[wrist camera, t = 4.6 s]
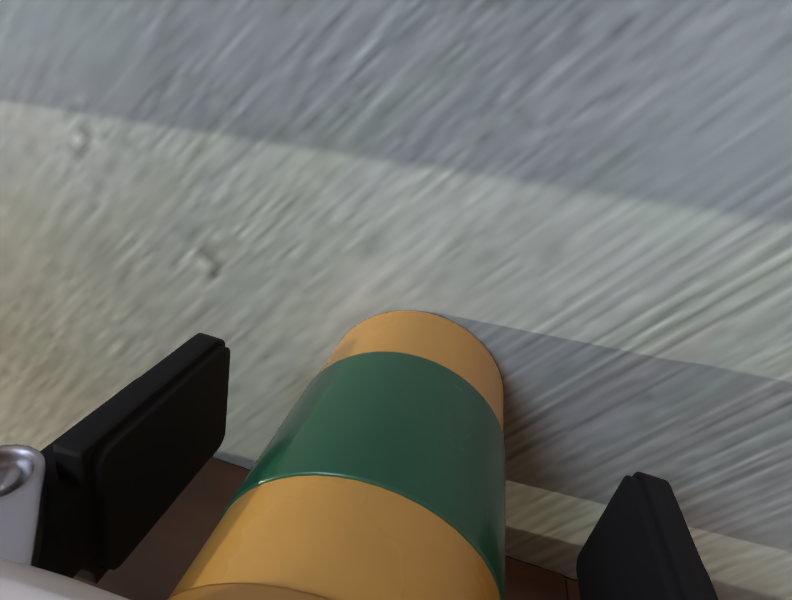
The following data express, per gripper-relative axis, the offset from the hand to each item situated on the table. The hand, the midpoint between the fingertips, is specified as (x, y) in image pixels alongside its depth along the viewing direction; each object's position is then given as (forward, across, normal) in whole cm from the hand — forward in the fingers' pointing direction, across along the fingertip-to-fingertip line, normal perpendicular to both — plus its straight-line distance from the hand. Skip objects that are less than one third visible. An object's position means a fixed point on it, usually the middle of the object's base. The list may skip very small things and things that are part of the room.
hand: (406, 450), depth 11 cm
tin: (+2, 0, 0) cm, 2 cm away
